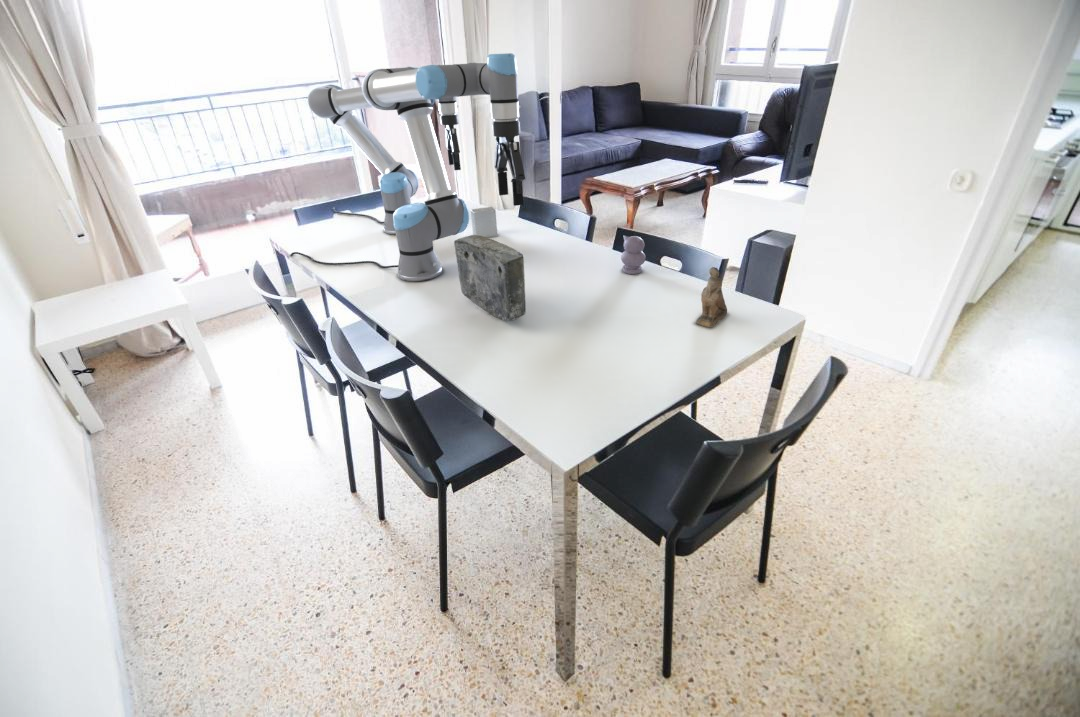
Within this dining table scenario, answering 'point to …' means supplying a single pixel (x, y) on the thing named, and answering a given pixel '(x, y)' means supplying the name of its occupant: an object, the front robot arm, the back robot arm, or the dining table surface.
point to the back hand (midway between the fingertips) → (454, 167)
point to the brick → (484, 222)
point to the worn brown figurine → (712, 301)
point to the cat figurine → (633, 254)
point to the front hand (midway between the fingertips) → (510, 199)
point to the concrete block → (492, 276)
